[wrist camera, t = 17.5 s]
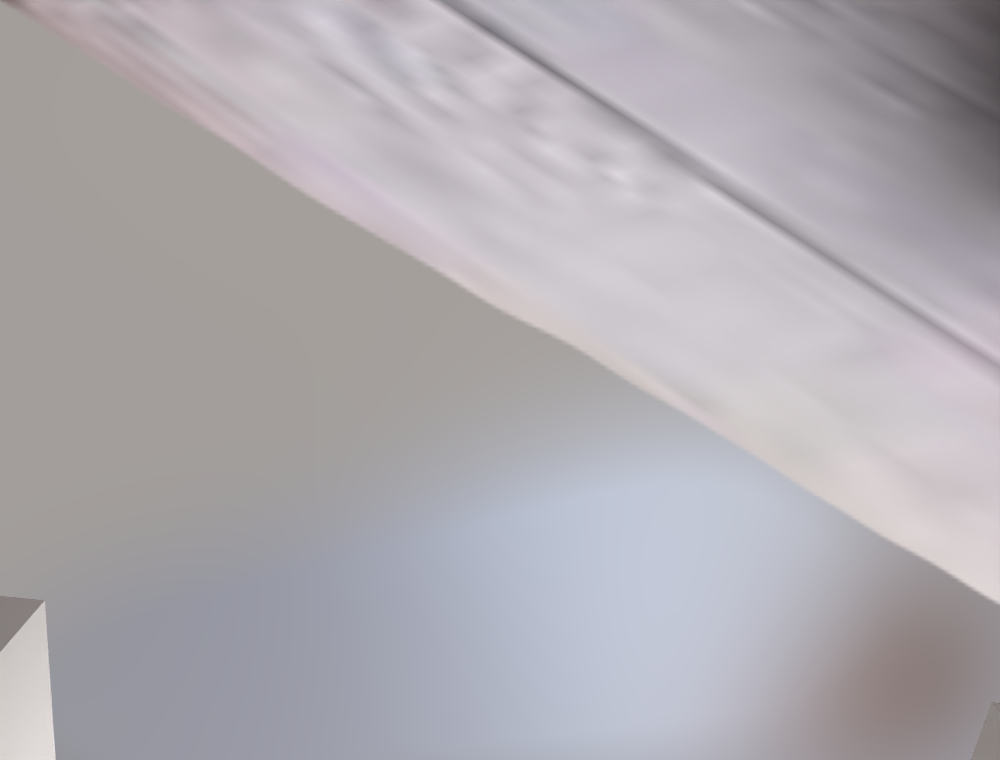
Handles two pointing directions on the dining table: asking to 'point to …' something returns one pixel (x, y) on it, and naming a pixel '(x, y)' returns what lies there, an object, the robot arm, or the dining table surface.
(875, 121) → the dining table surface
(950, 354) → the dining table surface
